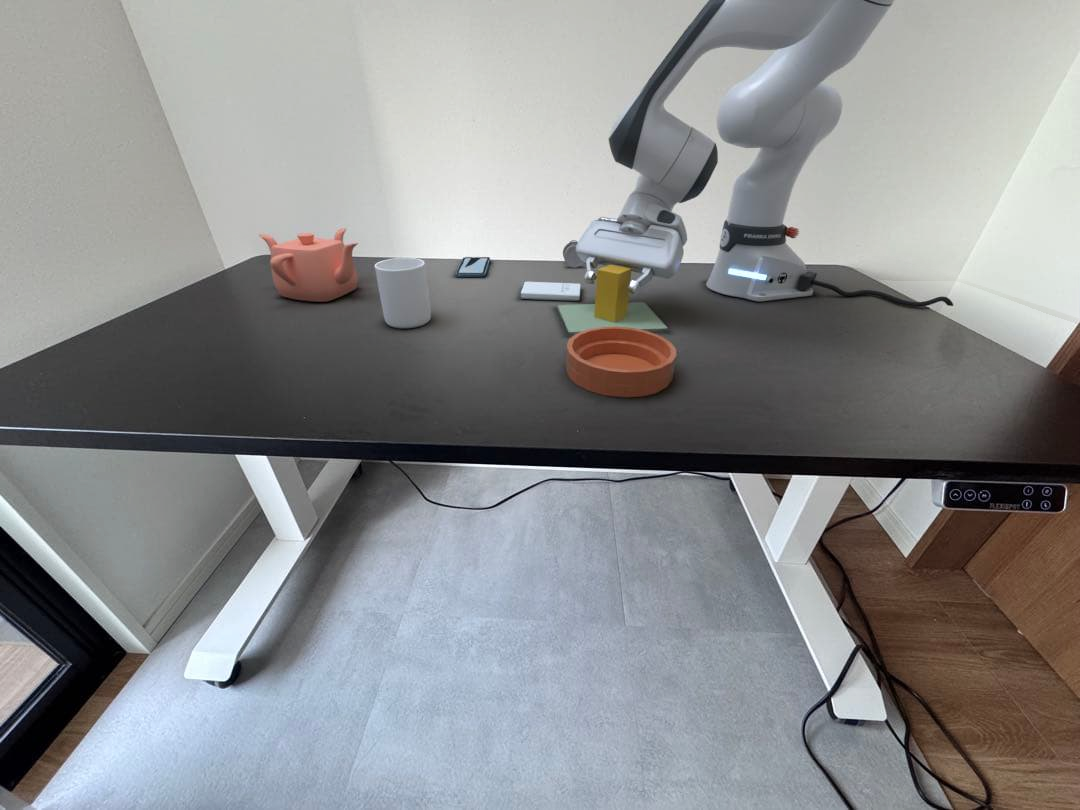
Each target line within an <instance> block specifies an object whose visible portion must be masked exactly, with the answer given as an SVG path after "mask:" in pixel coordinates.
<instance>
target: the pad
mask: <svg viewBox="0 0 1080 810" xmlns="http://www.w3.org/2000/svg"><path fill="white" fill-rule="evenodd" d="M557 311H558V313H559V316H560V317H561V318H562V321H563V323H564V325H565V327H566V330H567V332H568V334H577V333H579V332H582V331H585V330H587V329H593V328H598V327H616V326H617V327H629V328H635V329H640V330H645V331H658V330H668V329H669V327H668V326H666V324H665V323H664V322H663V321H662V320H661V319H660V318H659V317H658V316H657V314H655V312H654V311H653V310H652V309H651V307H650V306H649V305H648V304H647V303H646V302H644V301H640V302H639V301H637V302H635V301H634V302H628V307H627V316H625V317H623V318H622V319H620V320H618V321H616V322H611V321H608V320H604V319H600V318H596V317H594V313H595V303H581V304H578V303H577V304H576V303H575V304H557Z"/></svg>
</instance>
